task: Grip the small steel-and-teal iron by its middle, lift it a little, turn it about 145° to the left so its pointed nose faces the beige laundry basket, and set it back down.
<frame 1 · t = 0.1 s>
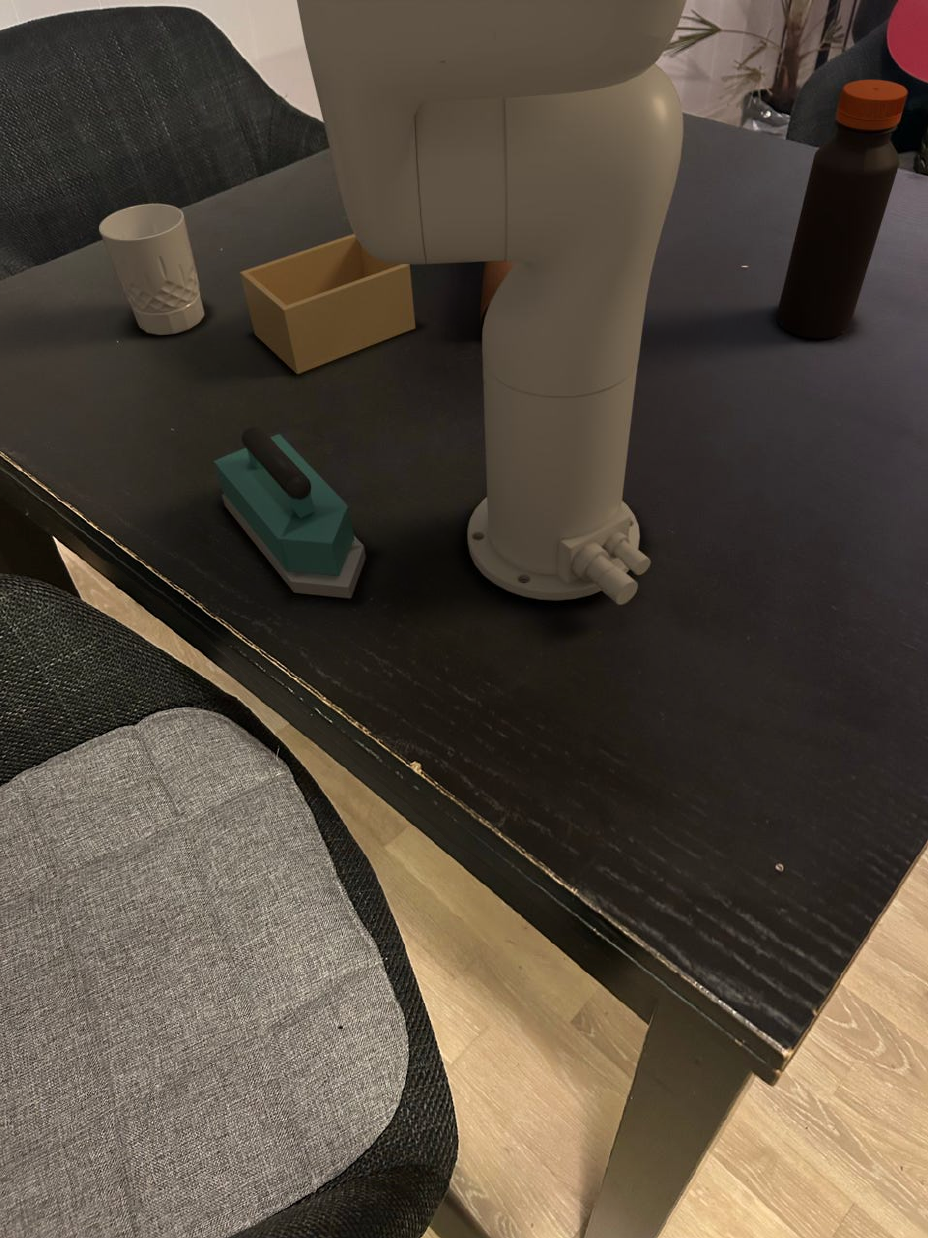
white cup: (172, 320, 90), on the table
sunglasses case: (524, 295, 90), on the table
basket: (335, 331, 87), on the table
iron: (351, 598, 62), on the table
bottle: (811, 323, 84), on the table
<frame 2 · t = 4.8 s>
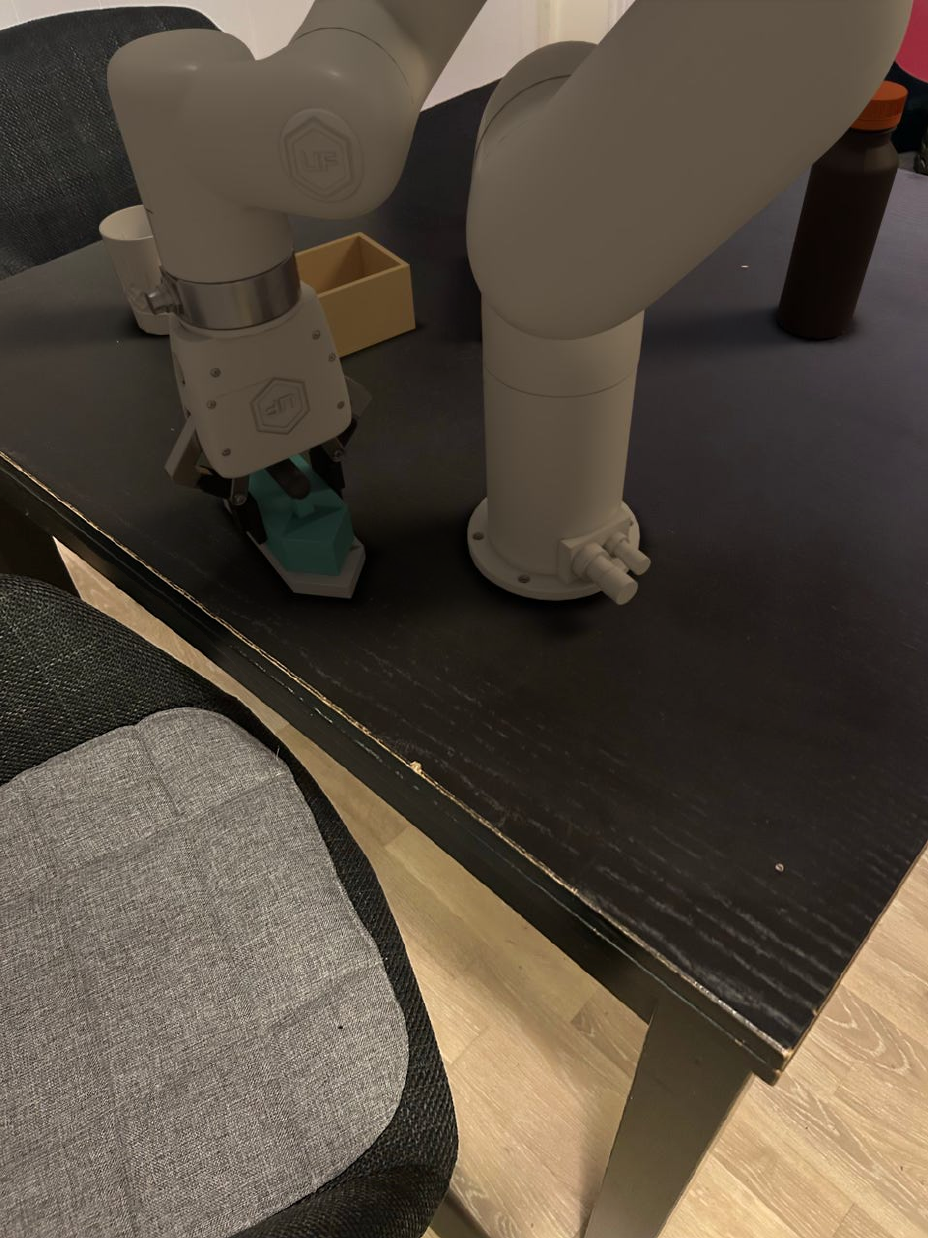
hand: (293, 513, 65), 2 cm above the table, tool pointing down, fingers closed on iron, 5 cm apart
iron: (351, 598, 62), on the table, touching gripper
everything else where it was.
when the fingers open (2 cm above the table, at t = 9.3 s): iron stays where it is, on the table.
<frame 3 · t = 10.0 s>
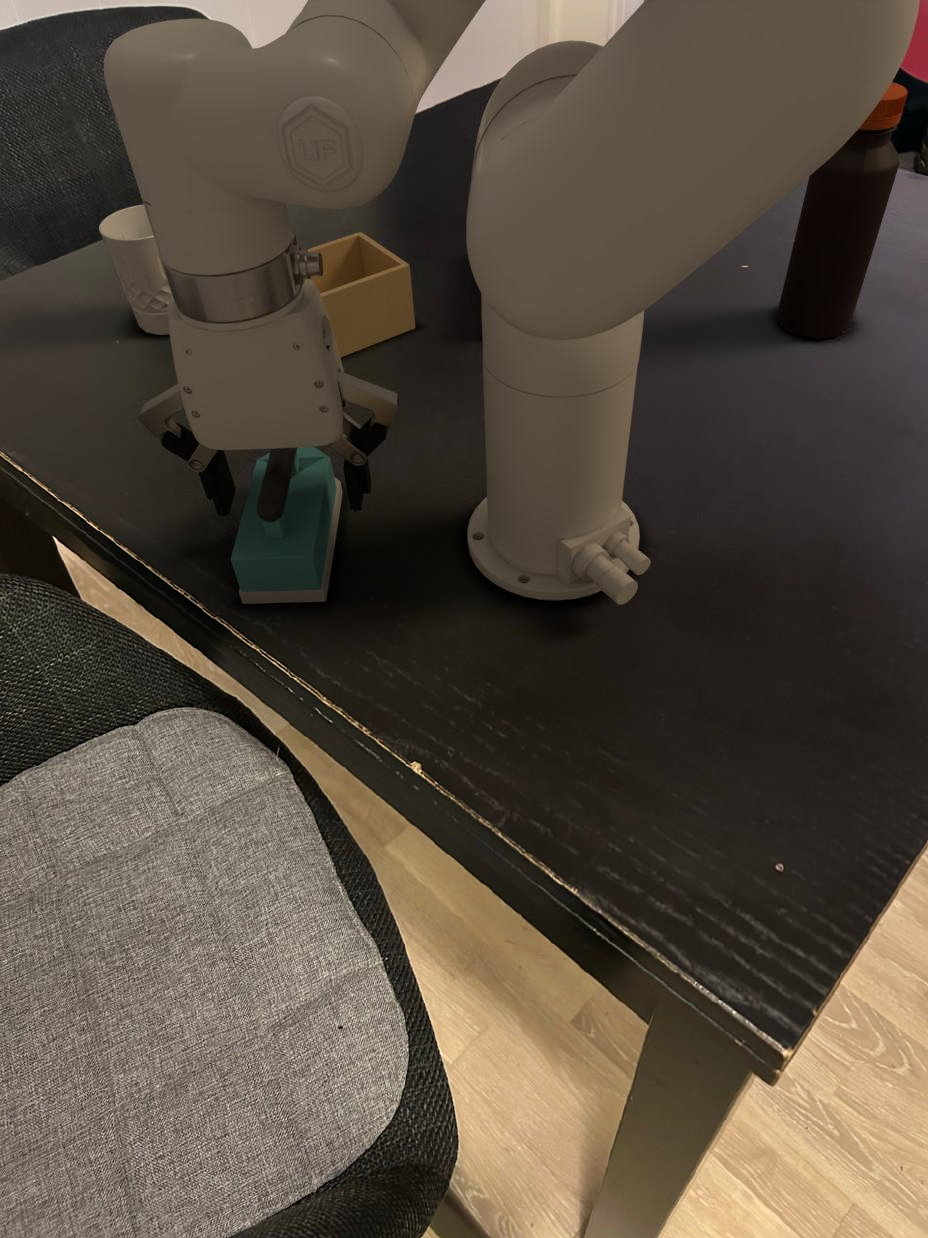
hand: (292, 501, 64), 4 cm above the table, tool pointing down, fingers open, 9 cm apart
iron: (310, 470, 72), on the table
everything else where it was.
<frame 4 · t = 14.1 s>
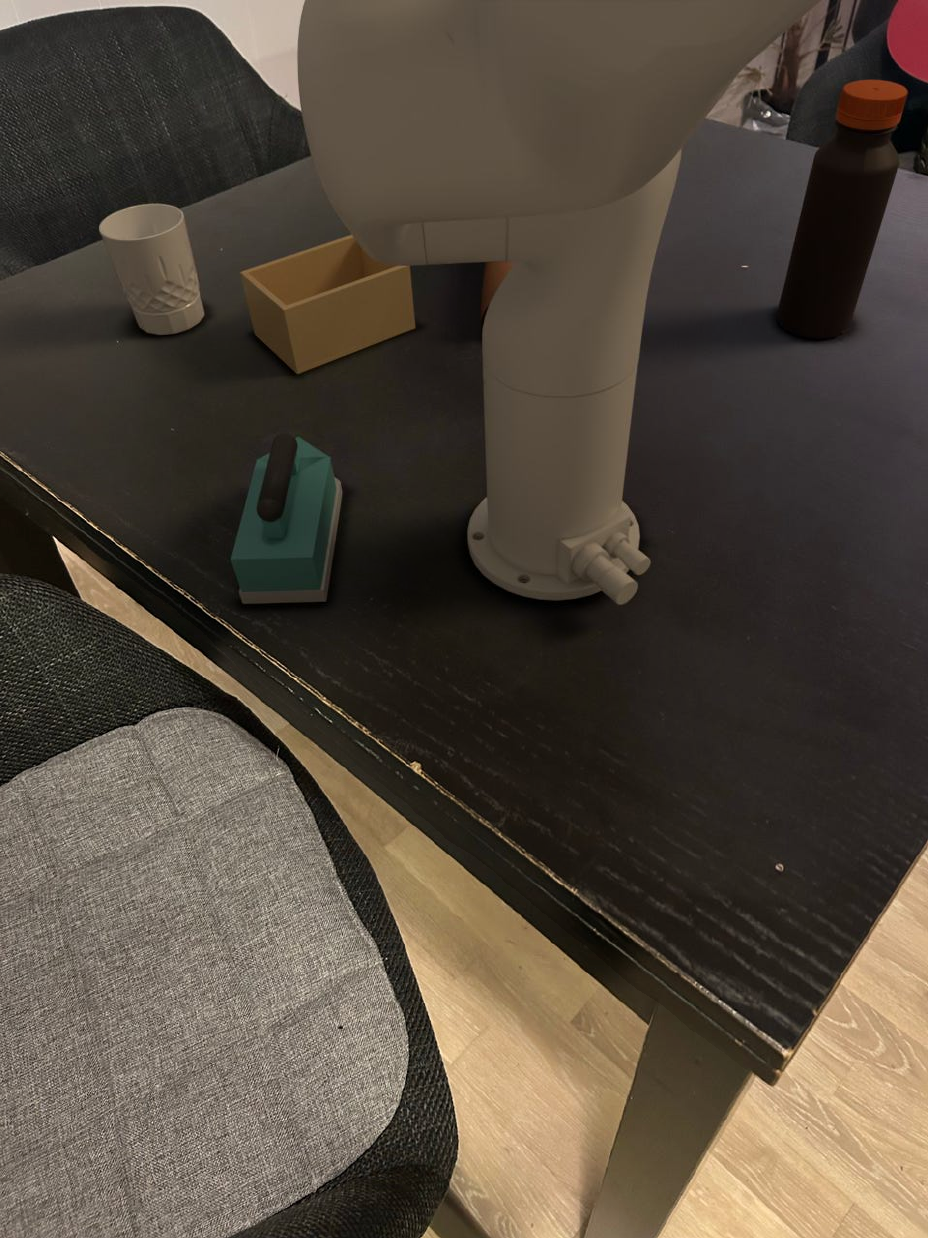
hand: (537, 11, 59), 28 cm above the table, tool pointing down, fingers open, 9 cm apart
nothing on the table moved.
at the end: iron 0.3 cm from the target spot, on the table; iron 22.0 cm from the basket (horizontally); iron tilted 0° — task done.
